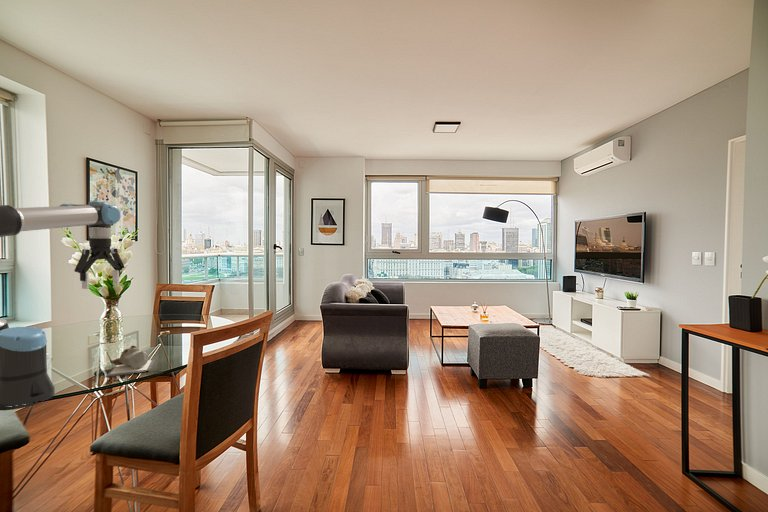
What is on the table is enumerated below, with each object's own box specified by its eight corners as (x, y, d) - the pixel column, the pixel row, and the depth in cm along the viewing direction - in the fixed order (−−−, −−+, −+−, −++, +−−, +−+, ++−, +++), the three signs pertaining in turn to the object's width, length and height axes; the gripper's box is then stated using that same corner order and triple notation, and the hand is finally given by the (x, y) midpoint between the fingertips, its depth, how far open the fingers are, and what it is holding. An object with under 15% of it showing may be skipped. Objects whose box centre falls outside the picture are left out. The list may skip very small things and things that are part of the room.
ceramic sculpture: (127, 350, 143) (107, 346, 150) (128, 373, 143) (108, 368, 150) (155, 344, 153) (135, 340, 160) (156, 365, 153) (136, 360, 160)
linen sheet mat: (106, 376, 142) (106, 374, 142) (115, 364, 155) (115, 362, 155) (148, 372, 147) (148, 370, 147) (154, 360, 160) (154, 359, 160)
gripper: (120, 237, 173) (121, 282, 174) (62, 237, 148) (63, 290, 150) (133, 237, 171) (133, 283, 172) (76, 238, 147) (78, 291, 148)
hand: (101, 286), depth 161 cm, fingers open, 13 cm apart
